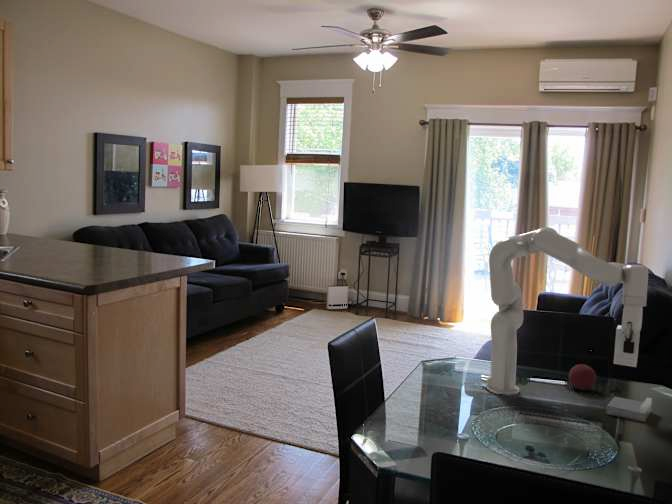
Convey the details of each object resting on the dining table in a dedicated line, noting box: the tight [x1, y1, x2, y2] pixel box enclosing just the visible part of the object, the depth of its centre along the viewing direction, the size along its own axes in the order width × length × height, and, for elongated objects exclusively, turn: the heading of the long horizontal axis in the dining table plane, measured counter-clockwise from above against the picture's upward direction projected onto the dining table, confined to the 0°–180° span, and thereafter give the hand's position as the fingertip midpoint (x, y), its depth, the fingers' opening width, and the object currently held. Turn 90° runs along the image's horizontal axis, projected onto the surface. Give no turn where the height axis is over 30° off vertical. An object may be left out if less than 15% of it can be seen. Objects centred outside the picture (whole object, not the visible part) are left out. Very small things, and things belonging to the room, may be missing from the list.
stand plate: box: [605, 396, 652, 423], centre depth 208 cm, size 12×12×5 cm
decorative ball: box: [568, 363, 597, 391], centre depth 233 cm, size 10×10×10 cm
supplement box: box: [613, 324, 641, 368], centre depth 207 cm, size 7×7×13 cm
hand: (630, 350), depth 206 cm, fingers closed on supplement box, 7 cm apart
